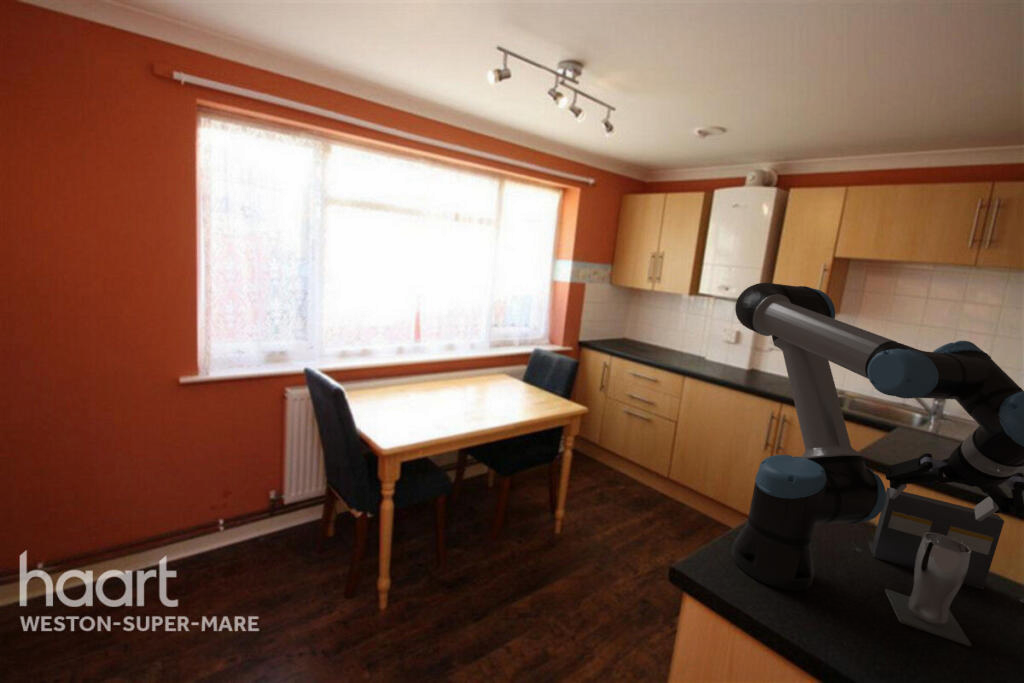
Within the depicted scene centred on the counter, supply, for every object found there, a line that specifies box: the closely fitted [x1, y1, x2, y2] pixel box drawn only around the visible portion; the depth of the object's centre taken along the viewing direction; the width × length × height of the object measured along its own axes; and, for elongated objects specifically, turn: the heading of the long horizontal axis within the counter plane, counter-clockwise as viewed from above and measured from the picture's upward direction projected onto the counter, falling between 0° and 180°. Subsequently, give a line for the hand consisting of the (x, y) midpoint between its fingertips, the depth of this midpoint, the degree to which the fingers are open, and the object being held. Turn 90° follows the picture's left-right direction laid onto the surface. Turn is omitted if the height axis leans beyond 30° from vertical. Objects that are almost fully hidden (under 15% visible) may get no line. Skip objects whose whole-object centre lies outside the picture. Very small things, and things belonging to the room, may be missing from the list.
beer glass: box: [906, 532, 971, 627], centre depth 87 cm, size 7×7×15 cm
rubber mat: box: [884, 588, 972, 647], centre depth 88 cm, size 10×10×1 cm
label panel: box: [868, 487, 1005, 590], centre depth 104 cm, size 19×6×16 cm, turn 64°
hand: (933, 503), depth 95 cm, fingers open, 13 cm apart
